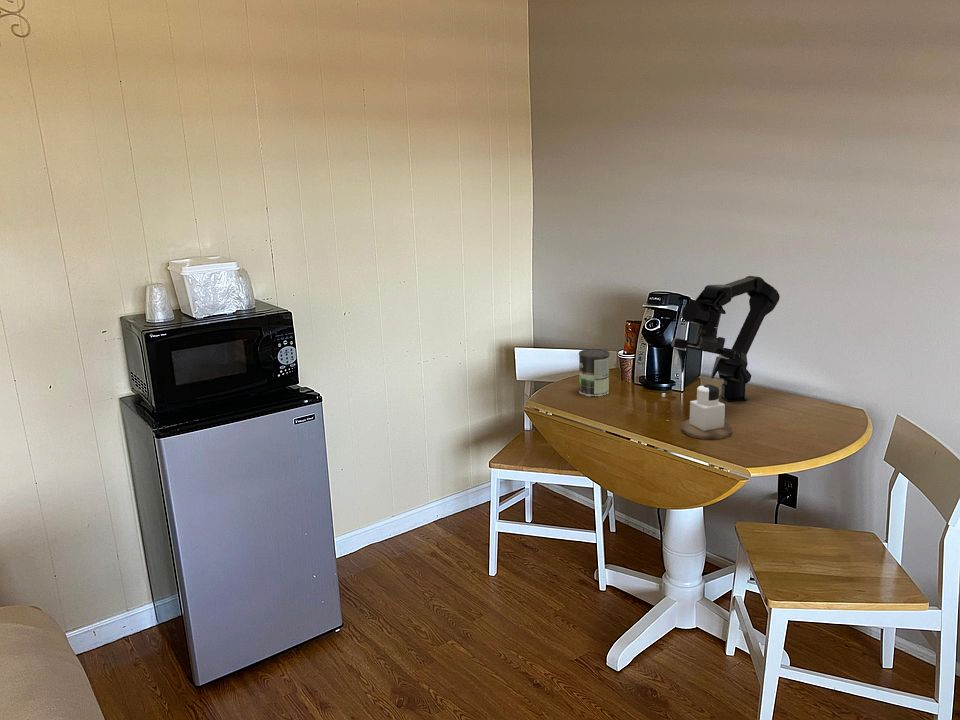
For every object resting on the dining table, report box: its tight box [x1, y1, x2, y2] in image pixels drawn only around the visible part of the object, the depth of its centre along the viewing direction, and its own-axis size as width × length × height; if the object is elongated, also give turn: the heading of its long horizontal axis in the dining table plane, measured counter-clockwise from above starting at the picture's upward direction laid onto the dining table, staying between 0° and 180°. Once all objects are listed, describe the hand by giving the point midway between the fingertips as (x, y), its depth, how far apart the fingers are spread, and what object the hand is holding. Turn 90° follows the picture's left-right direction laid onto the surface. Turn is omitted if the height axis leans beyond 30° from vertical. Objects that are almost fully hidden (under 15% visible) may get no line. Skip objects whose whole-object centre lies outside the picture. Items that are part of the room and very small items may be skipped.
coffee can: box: [578, 348, 610, 398], centre depth 259 cm, size 10×10×14 cm
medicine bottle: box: [689, 384, 726, 431], centre depth 221 cm, size 7×7×12 cm
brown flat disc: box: [680, 418, 732, 441], centre depth 222 cm, size 14×14×2 cm
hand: (697, 375), depth 236 cm, fingers open, 9 cm apart
